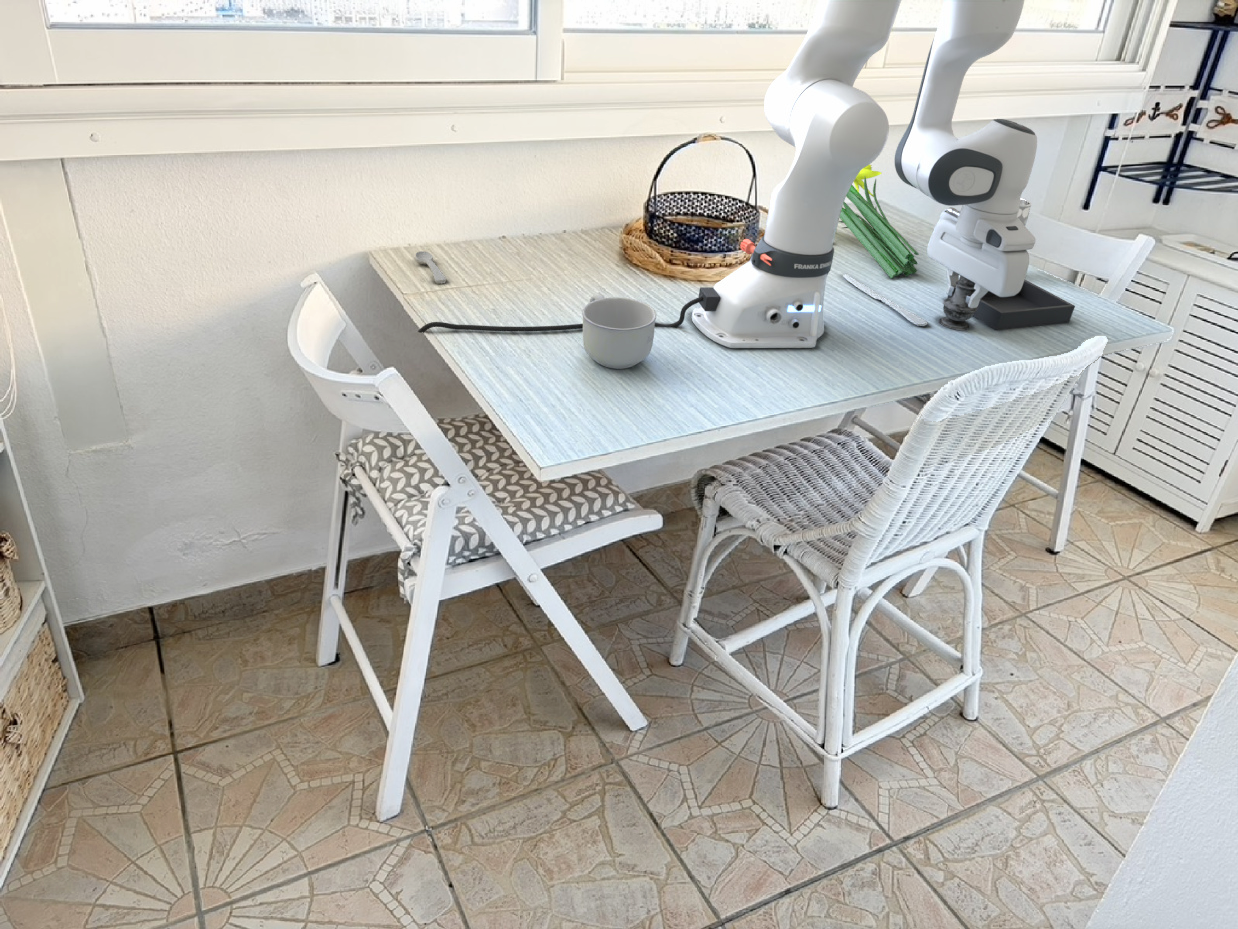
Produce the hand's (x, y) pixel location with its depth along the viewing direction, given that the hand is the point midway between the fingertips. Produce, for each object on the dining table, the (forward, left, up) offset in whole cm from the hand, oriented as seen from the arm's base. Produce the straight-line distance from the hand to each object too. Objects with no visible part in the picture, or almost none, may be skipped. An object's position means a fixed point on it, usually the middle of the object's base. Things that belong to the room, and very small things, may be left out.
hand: (961, 300), depth 160 cm
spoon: (-84, +39, -5) cm, 93 cm away
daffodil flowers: (+6, +36, -5) cm, 37 cm away
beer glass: (+26, +20, -5) cm, 33 cm away
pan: (+15, +3, -4) cm, 16 cm away
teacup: (-65, +1, -5) cm, 65 cm away
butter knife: (-7, +12, -4) cm, 15 cm away
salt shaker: (0, 0, -5) cm, 5 cm away
